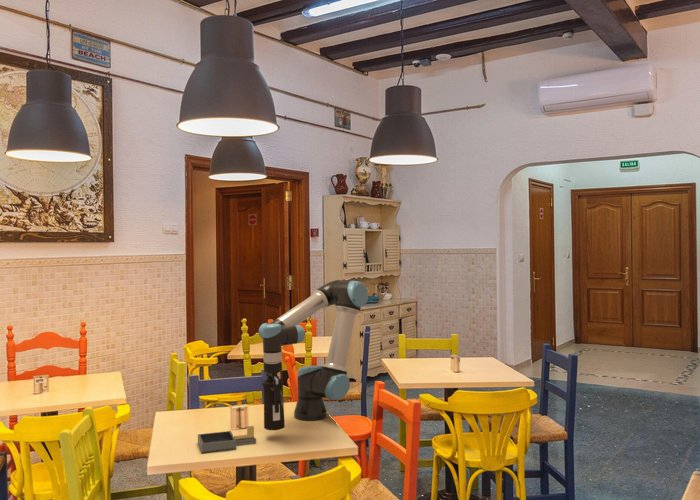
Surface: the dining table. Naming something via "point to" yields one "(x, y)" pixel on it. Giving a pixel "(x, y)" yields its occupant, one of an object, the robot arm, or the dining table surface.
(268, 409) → the container
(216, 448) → the dock cradle
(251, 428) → the tan block
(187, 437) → the dining table surface
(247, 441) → the pin rail
